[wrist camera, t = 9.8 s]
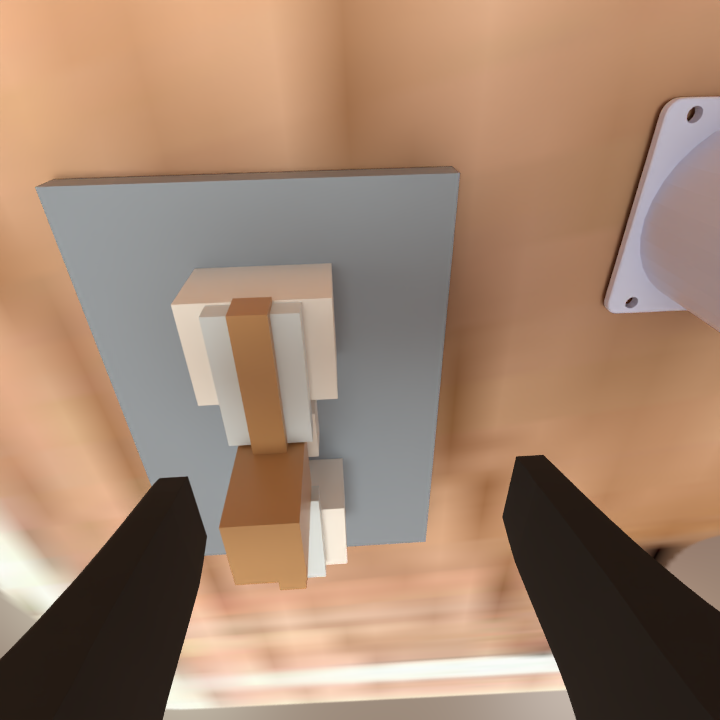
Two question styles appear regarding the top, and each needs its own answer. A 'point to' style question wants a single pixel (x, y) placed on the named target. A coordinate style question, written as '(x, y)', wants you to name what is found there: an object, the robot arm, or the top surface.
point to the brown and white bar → (266, 441)
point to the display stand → (284, 284)
